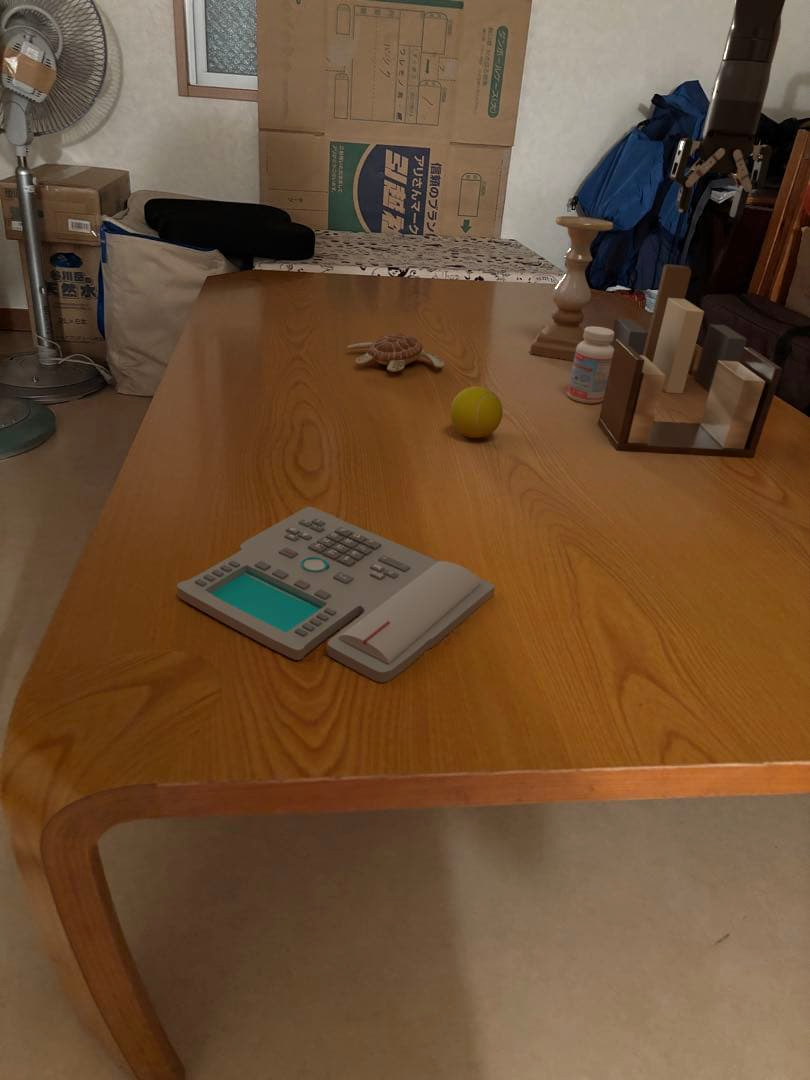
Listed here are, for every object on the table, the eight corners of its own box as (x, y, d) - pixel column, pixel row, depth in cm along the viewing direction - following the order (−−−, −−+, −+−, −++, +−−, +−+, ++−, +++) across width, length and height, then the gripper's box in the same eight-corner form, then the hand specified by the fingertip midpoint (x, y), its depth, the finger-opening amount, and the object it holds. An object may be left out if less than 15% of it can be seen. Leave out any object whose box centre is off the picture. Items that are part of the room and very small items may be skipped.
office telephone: (499, 572, 73) (376, 680, 58) (495, 595, 74) (374, 706, 60) (309, 494, 83) (163, 569, 69) (308, 515, 85) (165, 593, 70)
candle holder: (529, 354, 147) (550, 219, 135) (537, 340, 156) (558, 213, 144) (586, 363, 145) (613, 227, 133) (592, 348, 154) (617, 220, 142)
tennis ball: (438, 432, 109) (443, 384, 106) (473, 423, 113) (479, 377, 110) (472, 449, 105) (479, 400, 101) (508, 439, 109) (515, 391, 105)
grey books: (710, 379, 142) (725, 325, 137) (730, 396, 134) (747, 339, 129) (603, 373, 140) (615, 317, 135) (617, 389, 132) (630, 331, 127)
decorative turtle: (459, 361, 140) (463, 334, 137) (423, 385, 126) (425, 355, 124) (370, 342, 146) (371, 316, 143) (326, 364, 132) (326, 335, 130)
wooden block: (689, 366, 148) (715, 269, 139) (691, 373, 144) (718, 273, 135) (641, 360, 149) (664, 263, 140) (642, 367, 146) (665, 267, 137)
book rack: (725, 431, 119) (750, 347, 112) (753, 457, 110) (782, 368, 103) (597, 424, 117) (616, 338, 111) (616, 450, 108) (637, 359, 102)
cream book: (665, 377, 141) (684, 298, 134) (682, 393, 133) (704, 311, 126) (649, 376, 141) (667, 297, 134) (665, 392, 133) (686, 310, 126)
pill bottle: (559, 393, 128) (571, 325, 122) (588, 390, 131) (601, 324, 125) (582, 406, 123) (596, 336, 118) (612, 402, 126) (627, 334, 120)
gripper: (700, 94, 111) (672, 214, 119) (795, 102, 112) (761, 221, 120) (682, 93, 118) (657, 208, 126) (772, 101, 119) (741, 215, 127)
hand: (708, 214), depth 123 cm, fingers open, 8 cm apart
